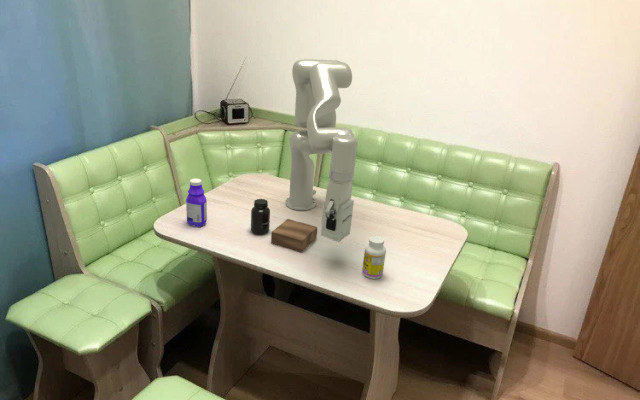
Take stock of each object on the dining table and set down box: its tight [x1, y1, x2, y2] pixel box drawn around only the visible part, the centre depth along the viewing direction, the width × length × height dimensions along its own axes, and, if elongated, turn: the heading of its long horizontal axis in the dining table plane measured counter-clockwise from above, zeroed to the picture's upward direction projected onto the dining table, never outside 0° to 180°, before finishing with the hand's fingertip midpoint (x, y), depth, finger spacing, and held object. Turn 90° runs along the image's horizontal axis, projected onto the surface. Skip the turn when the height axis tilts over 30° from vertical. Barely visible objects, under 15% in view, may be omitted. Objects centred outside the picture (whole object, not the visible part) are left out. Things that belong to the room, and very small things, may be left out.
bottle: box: [185, 178, 208, 227], centre depth 179 cm, size 7×6×17 cm
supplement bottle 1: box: [250, 198, 271, 236], centre depth 178 cm, size 7×7×12 cm
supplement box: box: [320, 198, 355, 243], centre depth 159 cm, size 7×7×13 cm
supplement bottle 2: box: [361, 235, 387, 280], centre depth 156 cm, size 7×7×13 cm
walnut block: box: [270, 218, 318, 253], centre depth 174 cm, size 12×12×5 cm
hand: (336, 224), depth 160 cm, fingers closed on supplement box, 7 cm apart
